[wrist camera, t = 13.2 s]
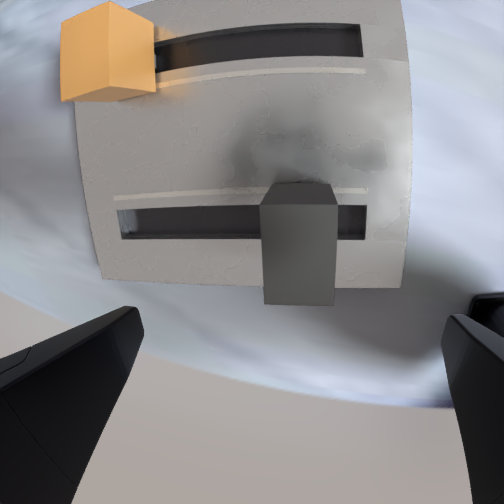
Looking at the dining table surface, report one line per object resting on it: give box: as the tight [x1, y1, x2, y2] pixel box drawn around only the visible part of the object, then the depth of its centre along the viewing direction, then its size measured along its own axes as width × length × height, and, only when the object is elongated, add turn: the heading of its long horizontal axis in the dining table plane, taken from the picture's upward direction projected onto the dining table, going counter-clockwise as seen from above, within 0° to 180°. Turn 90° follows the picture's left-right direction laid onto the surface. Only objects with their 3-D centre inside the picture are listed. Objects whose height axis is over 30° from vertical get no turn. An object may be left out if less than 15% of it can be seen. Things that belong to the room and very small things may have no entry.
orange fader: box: [60, 1, 156, 102], centre depth 13 cm, size 3×4×6 cm
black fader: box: [259, 183, 338, 306], centre depth 15 cm, size 3×4×6 cm
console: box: [74, 0, 412, 288], centre depth 17 cm, size 20×18×2 cm
